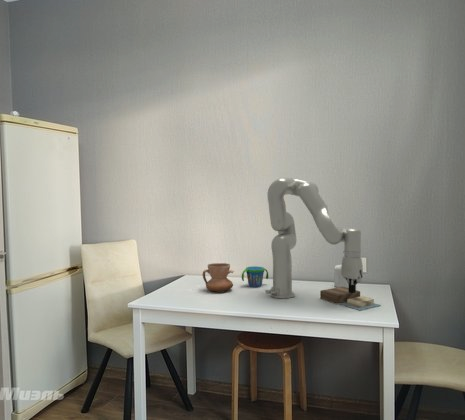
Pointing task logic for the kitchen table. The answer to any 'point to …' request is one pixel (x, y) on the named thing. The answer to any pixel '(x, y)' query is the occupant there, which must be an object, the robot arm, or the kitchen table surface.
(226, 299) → the kitchen table surface
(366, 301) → the birch tile
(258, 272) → the snack cup
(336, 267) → the white upright block
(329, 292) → the block
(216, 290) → the ceramic jug
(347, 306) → the slate mat
